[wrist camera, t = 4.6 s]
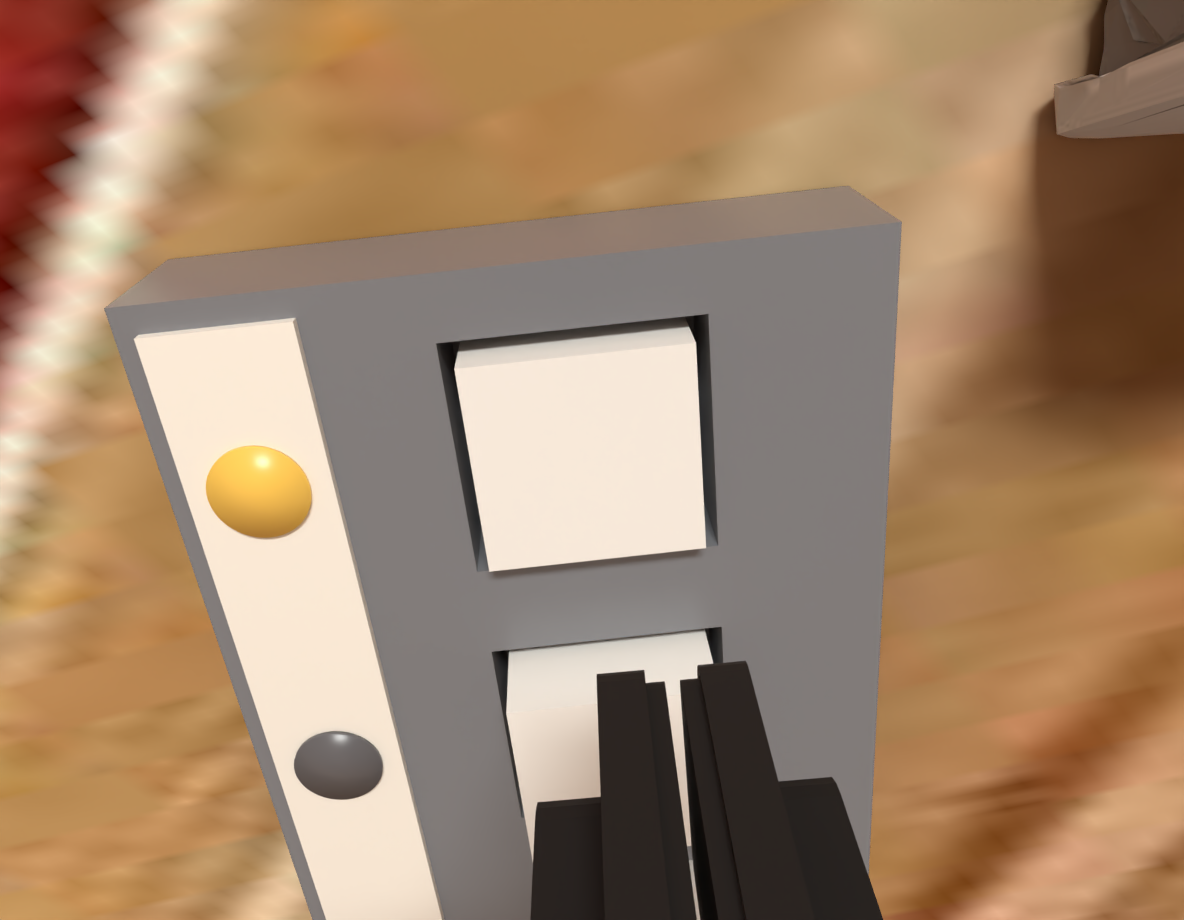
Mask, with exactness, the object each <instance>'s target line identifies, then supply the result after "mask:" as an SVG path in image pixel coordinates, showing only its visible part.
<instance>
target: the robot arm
mask: <svg viewBox="0 0 1184 920" xmlns="http://www.w3.org/2000/svg"><path fill="white" fill-rule="evenodd" d="M680 693H681V707H682V721H683V735H684V749H685V763H686V777H687V791H688V805H689V819H690V833H691V847H692V859H693V869H694V878H695V886H696V893H697V900H698V907H699V915H700V920H883V918H882V915H881V912H880V909H879V906H878V903H877V900H876V897H875V894H874V891H873V888H872V885H871V882H870V879H869V876H868V873H867V870H866V867H865V864H864V861H863V858H862V855H861V852H860V849H859V847H858V844H857V841H856V838H855V835H854V832H853V829H852V826H851V823H850V820H849V817H848V814H847V811H846V808H845V805H844V802H843V799H842V796H841V793H840V791H839V788H838V786H837V783H836V782H835V780H834V779H833V778H832V777H824V778H813V779H801V780H790V781H778V778H777V774H776V770H775V766H774V762H773V758H772V755H771V751H770V747H769V743H768V739H767V736H766V732H765V728H764V724H763V720H762V717H761V713H760V709H759V705H758V701H757V698H756V694H755V690H754V686H753V682H752V679H751V675H750V671H749V668H748V664H747V662H746V661H737V662H726V663H715V664H703V665H698V666H697V678H695V679H684V680H680ZM597 707H598V736H599V764H600V793H601V797H592V798H581V799H569V800H557V801H546V802H537V806H536V814H535V830H534V852H533V874H532V895H531V917H530V920H697V917H696V909H695V902H694V894H693V887H692V880H691V872H690V865H689V857H688V850H687V842H686V835H685V828H684V820H683V813H682V805H681V798H680V791H679V783H678V776H677V768H676V761H675V753H674V746H673V739H672V731H671V724H670V716H669V709H668V701H667V694H666V687H665V681H662V682H651V683H646V681H645V672H644V670H636V671H625V672H614V673H603V674H597Z"/></svg>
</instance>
